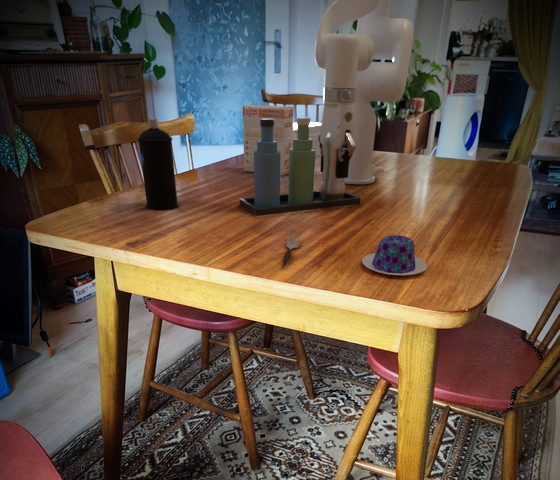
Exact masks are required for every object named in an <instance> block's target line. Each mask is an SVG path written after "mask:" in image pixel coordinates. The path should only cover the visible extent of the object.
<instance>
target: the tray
mask: <svg viewBox="0 0 560 480" xmlns="http://www.w3.org/2000/svg"><path fill="white" fill-rule="evenodd" d="M238 200H239V206H240V207H242V208H244V209H245V210H246V211H248V212H249V213H251V214H253V215H254V216H256V217H260V216H261V217H262V216H268V215H278V214H286V213H294V212H303V211H311V210H319V209H320V210H321V209H329V208H338V207H345V206H346V207H347V206H353V205H354V206H355V205H361V197H359V196H357V195H355V194H352V193H350V192H348V191H345V194H344V197H343V199H339V200H329V201H328V200H324V199H322V197H321V196H320V190H313V202H311V203H302V204H293V205H288V193H282V194H281V193H280V206H275V207H266V208H257V207H255V206H254V196H253V197H241V198H239V199H238Z"/></svg>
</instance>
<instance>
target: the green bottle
mask: <svg viewBox="0 0 560 480" xmlns="http://www.w3.org/2000/svg"><path fill="white" fill-rule="evenodd" d="M310 122H311V117H309V116H298V117H296V123H297V124H298V125H297V138H294V139H293V148H292V149H290V150H289V174H288V188H287V189H288V193H287V194H288V205H293V204H302V203H311V202H313V191H315V190H314V188H315V187H314V185H315V171H316V170H315V167H316V156H315V149H312V144H313V139H311V138H309V125H310Z"/></svg>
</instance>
